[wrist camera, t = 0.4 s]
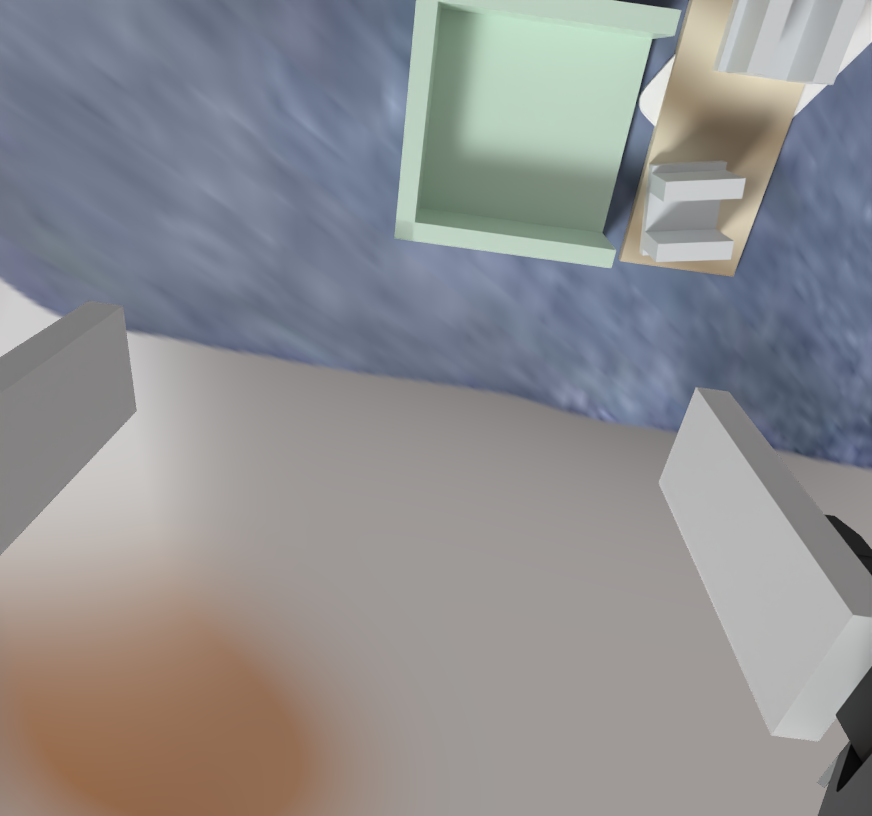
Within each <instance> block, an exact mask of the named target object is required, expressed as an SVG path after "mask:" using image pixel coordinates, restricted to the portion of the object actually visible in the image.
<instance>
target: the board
mask: <svg viewBox="0 0 872 816" xmlns="http://www.w3.org/2000/svg"><path fill="white" fill-rule="evenodd" d="M732 3H733V0H689V3H688V6H687V10H686V14H685V17H684V21H683V25H682V28H681V32H680V36H679V39H678V43H677V46H676V50H675V54H676V55H675V59H674V62H673V66H672V70H671V73H670V77H669V80H668V84H667V87H666V91H665V95H664V98H663V102H662V105H661V109H660V113H659V116H658V120H657V123H656V126H655V127H654V130H653V134H652V137H651V141H650V145H649V148H648V152H647V156H646V159H645V163H644V167H643V170H642V174H641V178H640V181H639V185H638V188H637V192H636V196H635V199H634V203H633V207H632V210H631V214H630V218H629V221H628V225H627V228H626V232H625V236H624V239H623V243H622V247H621V250H620V254H619V258H618V259H619V260H620V261H624V262H631V263H638V264H646V265H653V266H660V267H667V268H674V269H682V270H689V271H696V272H703V273H711V274H718V275H725V276H732V277H733V276H734V273H735V270H736V268H737V265H738V262H739V259H740V257H741V254H742V251H743V249H744V246H745V243H746V241H747V238H748V235H749V233H750V230H751V227H752V225H753V222H754V219H755V217H756V214H757V211H758V209H759V206H760V203H761V201H762V198H763V195H764V193H765V190H766V187H767V185H768V182H769V179H770V177H771V174H772V171H773V169H774V166H775V163H776V160H777V158H778V155H779V152H780V150H781V147H782V144H783V142H784V139H785V136H786V134H787V131H788V128H789V126H790V123H791V120H792V118H793V115H794V112H795V110H796V107H797V104H798V102H799V99H800V96H801V94H802V91H803V88H804V86H805V84H802V83H795V82H788V81H781V80H774V79H767V78H760V77H753V76H746V75H739V74H733V73H726V72H719V71H712V69H713V66H714V62H715V59H716V56H717V53H718V49H719V46H720V43H721V39H722V36H723V33H724V30H725V26H726V23H727V20H728V17H729V13H730V10H731V7H732ZM720 160H722V161H725V162H727V166H726V170H727V171H729V172H732V173H734V174H737V175H739V176H741V177H744V178H746V180H745V186H744V191H743V196H742V199H721V202H720V208H719V214H718V219H717V225H716V229H717V230H718V231H720V232H721V233H723V234H724V235H726V236H727V237H729V238H730V239H732V240H733V241H734V245H733V250H732V256H731V260H703V261H675V262H655V261H654V260H653V259H652V258H651V256H650V255H645V256H642V254H641V253H640V252H639V250H640V241H641V232H642V223H643V214H644V205H645V196H646V187H647V178H648V169H649V164H655V163H676V162H698V161H720Z"/></svg>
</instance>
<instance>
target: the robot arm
mask: <svg viewBox="0 0 872 816" xmlns="http://www.w3.org/2000/svg"><path fill="white" fill-rule="evenodd" d="M135 412H136V403H135V396H134V388H133V380H132V373H131V365H130V357H129V349H128V341H127V334H126V326H125V318H124V311H123V306H121V305H114V304H107V303H100V302H93V301H88V302H86V303H85V304H83V305H81V306H80V307H78V308H77V309H75V310H74V311H72V312H70V313H69V314H67V315H66V316H64V317H63V318H61V319H59V320H58V321H56V322H55V323H53V324H52V325H50V326H48V327H47V328H46V329H44V330H42V331H41V332H39V333H38V334H36V335H34V336H33V337H31V338H30V339H28V340H27V341H25V342H24V343H22V344H20V345H19V346H17V347H16V348H14V349H13V350H11V351H9V352H8V353H6V354H5V355H3V356H1V357H0V555H1V554H2V553H3V552H4V551H5V550H6V549H7V548H8V546H9V545H10V544H11V543H12V542H13V541H14V540H15V539H16V538H17V537H18V536H19V535H20V534H21V533H22V532H23V531H24V529H25V528H26V527H27V526H28V525H29V524H30V523H31V522H32V521H33V520H34V519H35V518H36V517H37V516H38V515H39V514H40V513H41V512H42V511H43V509H44V508H45V507H46V506H47V505H48V504H49V503H50V502H51V501H52V500H53V499H54V498H55V497H56V495H58V494H59V492H60V491H61V490H62V489H63V488H64V487H65V486H66V485H67V484H68V483H69V482H70V481H71V480H72V479H73V478H74V477H75V475H77V473H78V472H79V471H80V470H81V469H82V468H83V467H84V466H85V465H86V464H87V463H88V462H89V461H90V459H92V458H93V456H94V455H95V454H96V453H97V452H98V451H99V450H100V449H101V448H102V447H103V446H104V445H105V444H106V443H107V441H109V439H110V438H111V437H112V436H113V435H114V434H115V433H116V432H117V431H118V430H119V429H120V428H121V427H122V426H123V425H124V423H125V422H127V420H128V419H129V418H130V417H131V416H132V415H133V414H134V413H135ZM659 485H660V487H661V489H662V492H663V494H664V496H665V498H666V500H667V503H668V505H669V507H670V510H671V512H672V514H673V516H674V519H675V521H676V523H677V525H678V528H679V530H680V532H681V534H682V537H683V538H684V541H685V543H686V545H687V547H688V550H689V552H690V554H691V557H692V559H693V561H694V563H695V566H696V568H697V570H698V572H699V575H700V577H701V579H702V581H703V583H704V586H705V588H706V590H707V593H708V595H709V597H710V599H711V601H712V604H713V606H714V608H715V610H716V613H717V615H718V617H719V619H720V622H721V624H722V626H723V629H724V631H725V633H726V635H727V638H728V640H729V642H730V644H731V647H732V649H733V651H734V653H735V655H736V658H737V660H738V662H739V664H740V667H741V669H742V671H743V673H744V676H745V678H746V680H747V682H748V685H749V687H750V689H751V691H752V694H753V696H754V698H755V700H756V703H757V705H758V707H759V709H760V712H761V714H762V716H763V718H764V721H765V723H766V725H767V727H768V729H769V732H770V734H771V735H772V736H780V737H789V738H796V739H804V740H811V741H819V740H820V738H821V737H822V736H823V734H824V733H825V732H826V730H827V729H828V728H829V726H830V725H831V724H832V722H833V721H834V720H835V718H836V717H837V718H838V720H839V722H840V724H841V726H842V728H843V729H844V731H845V733H846V734H847V737H848V738H849V740H850V741H849V742H848V744H847V745H846V746H845V747H844V749H843V750H842V751H841V752H840V754H839V755H838V756H837V757H836V759H835V760H834V761H833V762H832V764H831V765H830V766H829V767H828V769H827V770H826V772H825V773H824V774H823V775H822V776H821V778H820V779H819V780H818V781H817V783H818V784H820V785H821V786H822V787H825V786H826V785H827V784H828V783H829V785H828V787H827V790H826V793H825V796H824V799H823V802H822V805H821V808H820V811H819V814H818V816H872V549H871V548H870V547H869V546H868V544H867V543H866V542H865V541H864V539H863V538H862V537H861V536H860V535H859V534H857V533H856V532H855V531H854V530H852V529H851V528H850V527H848V526H847V525H846V524H844V523H843V522H842V521H841V520H839V519H838V518H837V517H835V516H831V515H824V514H823V512H822V511H821V510H820V509H819V507H818V506H817V505H816V503H815V502H814V501H813V499H812V498H811V497H810V496H809V494H808V493H807V492H806V491H805V489H804V488H803V487H802V485H801V484H800V483H799V481H797V479H796V478H795V476H794V475H793V474H792V473H791V471H790V470H789V469H788V467H787V466H786V465H785V464H784V462H783V461H782V460H781V458H780V457H779V456H778V454H777V453H776V452H775V451H774V449H773V448H772V447H771V445H770V444H769V443H768V442H767V440H766V439H765V438H764V436H763V435H762V434H761V433H760V431H759V430H758V429H757V427H756V426H755V425H754V424H753V422H752V421H751V420H750V418H749V417H748V416H747V415H746V413H745V412H744V411H743V409H742V408H741V407H740V406H739V404H738V403H737V402H736V400H735V399H734V398H733V397H732V395H731V394H730V393H729V392H727V391H720V390H713V389H706V388H699V387H696V389H695V391H694V394H693V396H692V399H691V401H690V404H689V406H688V409H687V411H686V414H685V417H684V419H683V422H682V424H681V427H680V429H679V432H678V434H677V437H676V440H675V442H674V445H673V447H672V450H671V452H670V455H669V457H668V460H667V462H666V465H665V468H664V470H663V473H662V476H661V478H660V480H659Z"/></svg>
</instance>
